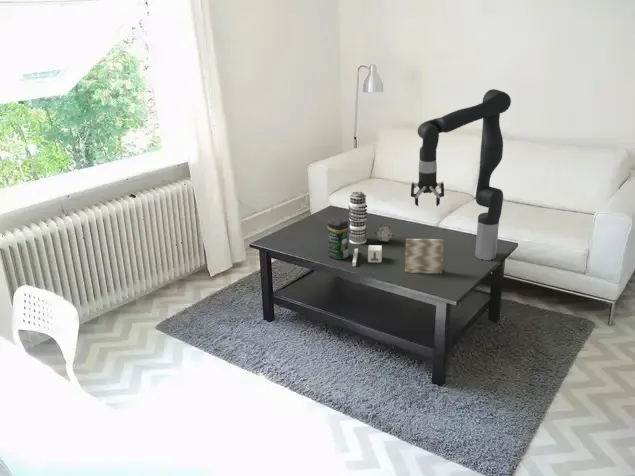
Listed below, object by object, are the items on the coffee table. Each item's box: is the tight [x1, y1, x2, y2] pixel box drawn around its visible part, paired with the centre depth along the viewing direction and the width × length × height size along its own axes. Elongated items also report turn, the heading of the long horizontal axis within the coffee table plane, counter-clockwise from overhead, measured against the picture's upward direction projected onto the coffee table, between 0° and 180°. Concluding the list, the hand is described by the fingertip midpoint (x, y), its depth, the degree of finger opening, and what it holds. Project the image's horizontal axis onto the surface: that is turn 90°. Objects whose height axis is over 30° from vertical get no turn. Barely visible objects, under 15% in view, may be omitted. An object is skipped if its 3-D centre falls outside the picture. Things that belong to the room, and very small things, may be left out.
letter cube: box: [367, 244, 383, 263], centre depth 277 cm, size 6×6×6 cm
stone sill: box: [352, 248, 359, 267], centre depth 279 cm, size 16×2×2 cm, turn 173°
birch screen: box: [404, 238, 445, 275], centre depth 262 cm, size 16×4×15 cm, turn 83°
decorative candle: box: [348, 191, 368, 245], centre depth 295 cm, size 9×9×25 cm
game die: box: [374, 224, 395, 244], centre depth 297 cm, size 9×8×10 cm
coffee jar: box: [327, 216, 350, 260], centre depth 279 cm, size 10×8×19 cm
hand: (427, 205), depth 264 cm, fingers open, 8 cm apart
